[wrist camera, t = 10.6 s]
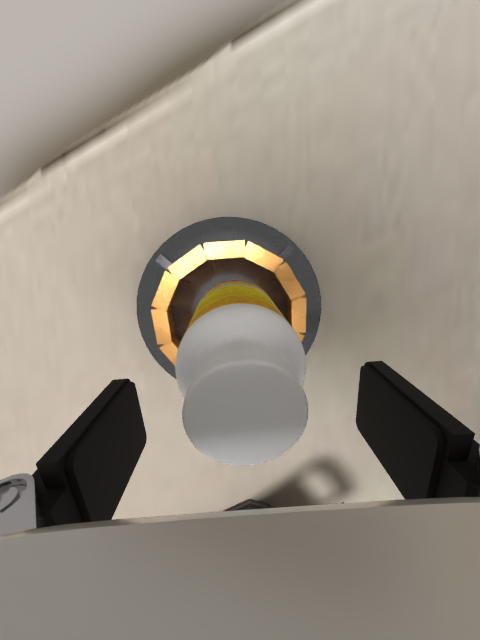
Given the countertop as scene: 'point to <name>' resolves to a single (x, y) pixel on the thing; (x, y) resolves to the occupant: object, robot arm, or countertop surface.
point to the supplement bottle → (241, 376)
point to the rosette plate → (219, 265)
